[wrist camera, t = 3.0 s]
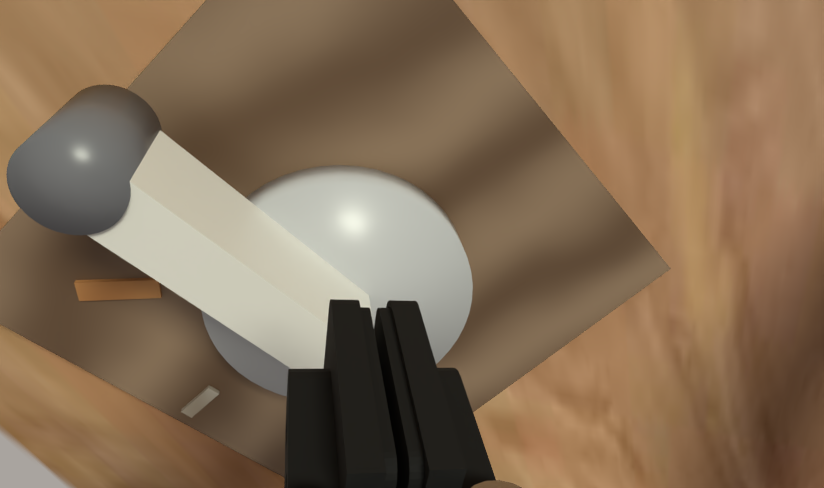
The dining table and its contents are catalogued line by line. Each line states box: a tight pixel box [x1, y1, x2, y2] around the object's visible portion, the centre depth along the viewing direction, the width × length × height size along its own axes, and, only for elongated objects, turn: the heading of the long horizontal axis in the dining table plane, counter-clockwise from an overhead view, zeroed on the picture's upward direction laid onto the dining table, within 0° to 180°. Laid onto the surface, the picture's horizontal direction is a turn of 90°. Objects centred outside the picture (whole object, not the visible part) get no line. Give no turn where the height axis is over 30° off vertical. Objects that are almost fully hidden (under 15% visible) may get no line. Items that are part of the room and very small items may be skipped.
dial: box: [7, 85, 473, 396], centre depth 22 cm, size 18×11×6 cm, turn 42°
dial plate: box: [0, 0, 671, 477], centre depth 27 cm, size 22×22×2 cm
